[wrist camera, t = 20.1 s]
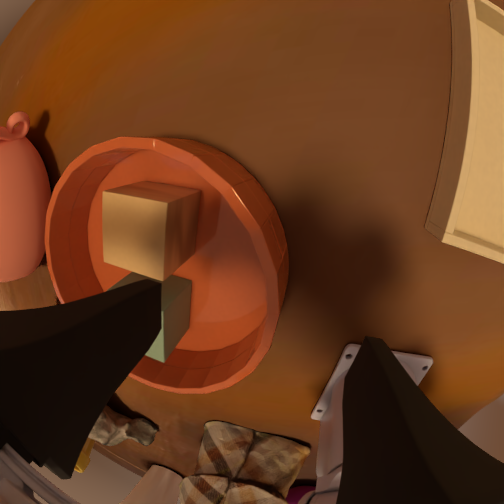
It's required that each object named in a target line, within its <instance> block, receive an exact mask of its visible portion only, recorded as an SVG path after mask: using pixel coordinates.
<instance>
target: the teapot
mask: <svg viewBox="0 0 504 504" xmlns="http://www.w3.org/2000/svg"><path fill="white" fill-rule="evenodd" d="M19 122H20V123H19ZM17 123H19V125H18V126H17V127H15V128H14V126H15V125H16V124H17ZM29 127H30V120H29V116H28V115H27V114H26V113H25V112H21V111H20V112H16V113H14V114H13V115H11V116H10V118H9V119H8V121H7V128H6V127H2V126H0V282H8V281H13V280H16V279H20V278H23V277H25V276H27V275H29V274H31V273H32V272H34V271H35V269H36V268H37V267H38V266H39V264H40V262H41V260H42V258H43V255H44V252H45V250H46V249H45V224H46V214H47V209H48V206H49V203H50V200H51V190H50V183H49V179H48V175H47V171H46V168H45V165H44V162H43V160H42V158H41V156H40V154H39V152H38V151H37V149H36V148H35V147H34V146H33V144H32V143H31V142H30V141H29V140H28V139H27V138H26V137H25V136H26V135H27V133H28V131H29Z"/></svg>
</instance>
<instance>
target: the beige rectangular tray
mask: <svg viewBox="0 0 504 504" xmlns="http://www.w3.org/2000/svg"><path fill="white" fill-rule="evenodd" d="M450 12H451V26H452V77H451V92H450V104H449V113H448V121H447V128H446V135H445V141H444V147H443V153H442V158H441V163H440V168H439V173H438V177H437V182H436V186H435V190H434V194H433V198H432V202H431V206H430V209H429V213H428V216H427V220H426V223H425V226H424V228H425V229H426V230H428V231H429V232H430V233H432V234H433V235H434V236H435V237H436V238H438V239H439V240H440V241H441V242H443V243H446V244H449V245H452V246H455V247H458V248H461V249H464V250H467V251H470V252H472V253H475V254H478V255H481V256H484V257H486V258H489V259H492V260H495V261H497V262H500V263H502V264H504V11H503V10H502V9H500V8H499V7H497V6H496V5H494V4H493V3H491V2H490V1H488V0H452V1H451V2H450Z"/></svg>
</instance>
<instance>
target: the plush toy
mask: <svg viewBox="0 0 504 504" xmlns="http://www.w3.org/2000/svg"><path fill="white" fill-rule="evenodd" d="M204 429H205V431H204V435H203V440H202V444H201V447H200V451H199V456H198V460H197V464H196V468H195V471H194V475H191V476H188V477H186V478H184V479H183V480H182V481H181V482H180V484H179V485H178V486H179V489H180V495H179V498H180V504H289V503H288V502H287V501H286V499H285V498H286V497H287V494H288V490H289V488H290V486H291V485H292V484H293V482H294V480H295V479H296V477H297V475H298V473H299V471H300V469H301V467H302V466H303V464H304V461H305V459H306V457H307V456H308V455H309V454H310V448H308V447H305V446H302V445H300V444H298V443H296V442H294V441H292V440H288V439H285V438H282V437H278V436H274V435H269V434H266V433H260V432H257V431H254V430H252V429H246V428H243V427H240V426H237V425H233V424H230V423H226V422H219V421H212V422H207V423H206V424H204Z"/></svg>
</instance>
